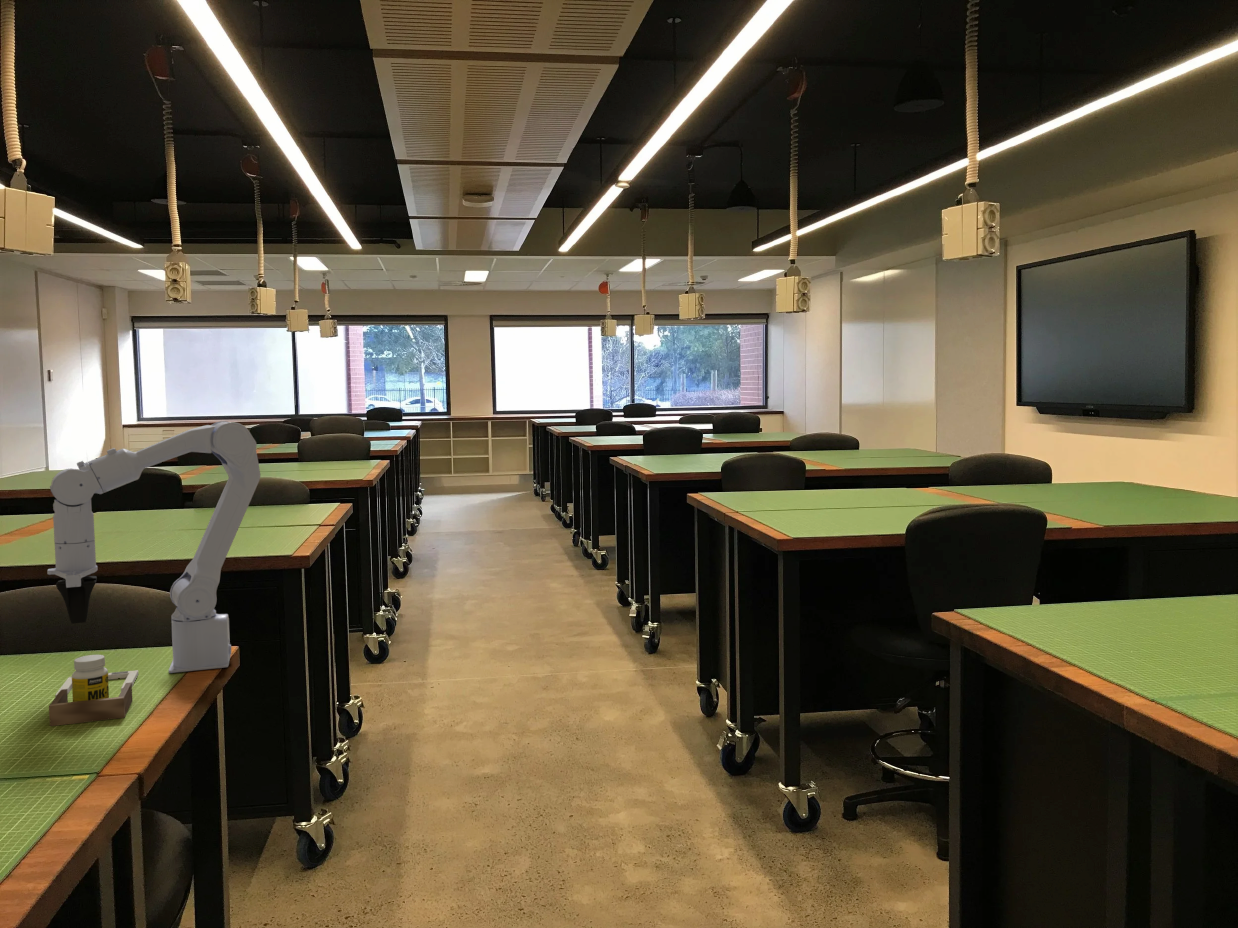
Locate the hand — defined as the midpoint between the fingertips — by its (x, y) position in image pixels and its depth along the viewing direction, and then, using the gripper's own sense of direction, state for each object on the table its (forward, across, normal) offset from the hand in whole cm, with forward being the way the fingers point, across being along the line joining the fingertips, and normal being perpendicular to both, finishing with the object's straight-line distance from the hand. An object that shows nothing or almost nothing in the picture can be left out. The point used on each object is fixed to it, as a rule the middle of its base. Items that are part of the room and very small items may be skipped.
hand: (78, 622), depth 148 cm
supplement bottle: (+11, +17, +2) cm, 20 cm away
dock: (+10, +4, +2) cm, 12 cm away
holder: (+10, +17, +2) cm, 20 cm away
